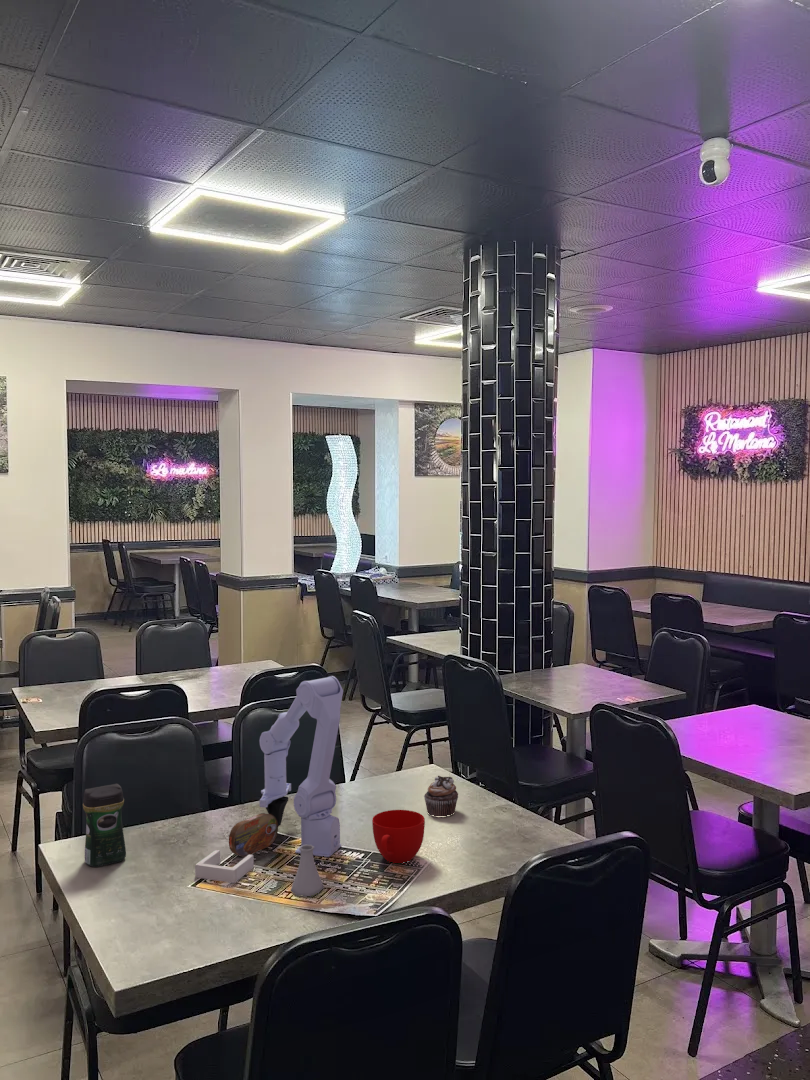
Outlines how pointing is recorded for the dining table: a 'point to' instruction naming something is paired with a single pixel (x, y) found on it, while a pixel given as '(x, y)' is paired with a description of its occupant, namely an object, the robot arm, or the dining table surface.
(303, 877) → the flask
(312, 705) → the robot arm
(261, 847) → the tin
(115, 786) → the coffee jar
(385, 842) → the ceramic cup
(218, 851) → the endcap
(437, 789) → the cupcake
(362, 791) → the dining table surface
